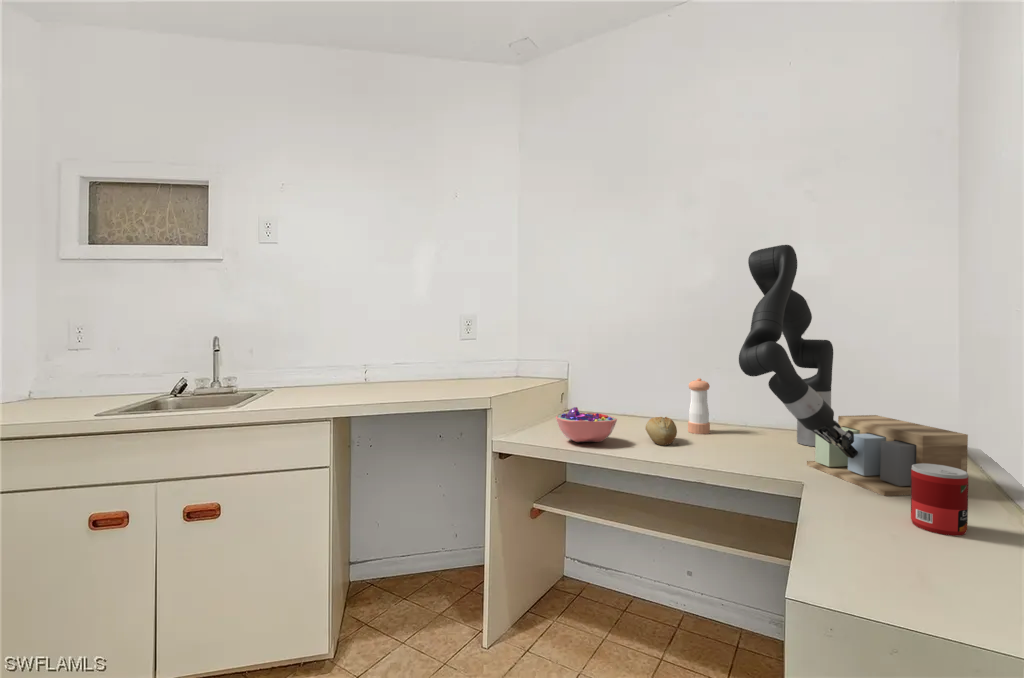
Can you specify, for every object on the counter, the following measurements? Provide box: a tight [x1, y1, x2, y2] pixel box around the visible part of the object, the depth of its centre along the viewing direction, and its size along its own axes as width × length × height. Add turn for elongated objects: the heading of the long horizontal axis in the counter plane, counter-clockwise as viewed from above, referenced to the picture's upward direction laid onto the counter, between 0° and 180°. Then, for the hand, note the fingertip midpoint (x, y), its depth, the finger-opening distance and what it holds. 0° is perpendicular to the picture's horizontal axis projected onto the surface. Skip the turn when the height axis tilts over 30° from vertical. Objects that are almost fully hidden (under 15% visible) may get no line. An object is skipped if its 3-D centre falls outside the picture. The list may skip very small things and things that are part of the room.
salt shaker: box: [687, 377, 711, 435], centre depth 176 cm, size 7×7×19 cm
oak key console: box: [806, 414, 969, 497], centre depth 122 cm, size 25×20×13 cm
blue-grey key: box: [848, 434, 886, 476], centre depth 122 cm, size 5×10×9 cm, turn 95°
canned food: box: [910, 463, 969, 537], centre depth 91 cm, size 8×8×11 cm
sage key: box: [814, 427, 860, 467], centre depth 129 cm, size 5×10×9 cm, turn 96°
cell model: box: [555, 406, 618, 443], centre depth 161 cm, size 17×20×11 cm
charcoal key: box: [880, 441, 916, 486], centre depth 114 cm, size 5×10×9 cm, turn 96°
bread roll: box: [645, 416, 678, 446], centre depth 162 cm, size 10×15×8 cm, turn 176°
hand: (853, 455), depth 121 cm, fingers closed
